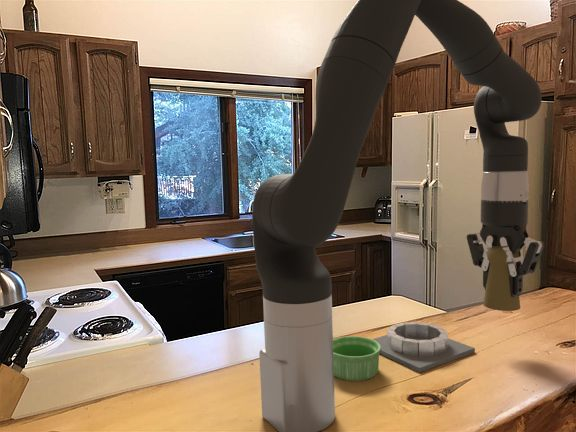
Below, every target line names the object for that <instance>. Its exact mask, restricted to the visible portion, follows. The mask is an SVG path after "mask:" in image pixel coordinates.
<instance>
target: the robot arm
mask: <svg viewBox="0 0 576 432" xmlns="http://www.w3.org/2000/svg"><path fill="white" fill-rule="evenodd" d="M415 16H416V18H417V19H419V20H420V21H421V23H422V24H423V25H424V26H425V27H426V28H427V29H428V30H429V31H430V32H431V33H432V35H433V36H434V37H435V38H436V39H437V41H438V42H439V43H440V45H441V46H442V48H443V49H444V51H446V53H447V54H448V56H449V58H450V60H451V61H452V62H453V64H454V65H455V67H456V69H457V70H458V72H459V73H460V74H461V76H462V77H463V79H464V80H465V81H466V82H467V83H468V84H469V85H472V86H479V87H481V86H482V87H481V88H480V89H479V90H478V91H477V93H476V95H475V98H474V100H473V114H474V119H475V122H476V123H475V124H476V126H477V129H478V130H477V131H478V133H479V139H480V141H481V144H482V150H483V155H482V156H483V157H482V178H481V184H480V223H481V224H482V225H481V226H482V227H481V229H480V231H479V232H476V233H475V232H473V233H469V234H467V235H466V241H467V245H468V248H469V253H470V256H471V260H472V264H473V265H474V266H476V267H479V268H481V270H482V286H483V289H484V292H485V291H486V285H487V279H488V272H489V266H490V262H489V260H488V258H487V252H488V250H489V248H491V247H493V246H501V247H502V248H503V249H504V250H505V252H506V254H507V255H508V257H507V261H506V262H507V263H508V267H509V271H510V275H511V276H509V284H510V293H511V297H513V298H514V297H515V295H517V297H518V296H519V297H520V295H521V294H522V293H523V281H524V280H523V279H524V278H523V277H524V276H525V275H529V274H534V273H535V272H536V270H537V267H538V264H539V261H540V258H541V256H542V253H543V251H544V248H545V244H546V243H545V242H544V241H543V240H536V239H534V238H531V237H529V233H528V231H527V226H528V223H529V222H528V221H529V195H530V191H529V190H530V185H529V184H530V183H529V175H528V173H529V172H528V168H529V167H528V166H529V144H528V141H527V140H526V138H524V137H522V136H519V135H518V136H517V135H511V134H509V131H508V130H507V126H506V123H512V122H521V121H526V120H529V119H531V118H533V117H534V116H535V115H536V114H537V113H538V112H539V110H540V109H541V106H542V90H541V88H540V86H539V84H538V81H537V80H536V79H535V78H534V77H533V76H532V75H531V73H529V72H528V71H527V70H526V69H525V68H524V67H522V66H521V65H520V64H519V63H518V62H517V61H516V60H514V58H512V57H511V56H510V55H509V54H508V53H506V51H504V49H503V46H502V45H501V44H500V42H499V40H498V38H497V36H496V34H495V33H494V32H493V30H492V29H491V27H490V25H489V24H488V23H487V21H486V20H485V19H484V18H483V16H482V15H480V14H479V13H477V12H476V11H475V10H473V9H472V8H470V7H469V6H468V5H466V4H464V3H463V2H462V1H459V0H357V1H356V2H355V4H354V5H353V6H352V8H351V9H349V12H348V13H347V14H346V16H345V17H344V19H343V20H342V22H341V23H340V24H339V26H338V28H337V30H336V31H335V33H334V35H333V37H332V39H331V41H330V43H329V46H328V48H327V50H326V53H325V55H324V58H323V60H322V62H321V65H320V67H319V70H318V73H317V78H316V82H315V97H314V99H315V121H314V127H313V131H312V134H311V137H310V140H309V142H308V143H307V144H308V145H307V146H306V149H305V151H304V153H303V156H302V157H301V159H300V162H299V164H298V165H297V168H296V169H295V171H294V173H280V174H276V175H273V176H271V177H268V178H267V179H265V180H264V181H263V182H262V183H261V184H260V186H259V187H258V188H257V190H256V192H255V195H254V198H253V202H252V210H251V211H252V212H251V215H252V216H251V220H252V233H253V245H254V246H253V247H254V258H255V267H256V271H257V274H258V277H259V279H260V284H261V287H262V303H263V305H262V306H263V309H262V310H263V327H264V328H263V329H264V330H263V332H264V348H263V349H260V350H259V374H260V375H259V376H260V377H259V378H260V397H261V398H260V399H261V416H262V418H263V419H265V420H266V421H267V422H268V423H269V424H270V425H271V426H272V427H273V428H274V429H275V430H276V431H278V432H320V431H323V430H325V429H326V428H328V427H329V426H331V425H332V424H333V422H334V420H335V418H336V407H335V406H336V405H335V403H336V401H335V399H336V397H335V376H334V361H333V339H334V335H333V332H334V331H333V298H332V297H333V295H332V293H333V290H332V287H333V286H332V284H333V283H332V276H331V274H330V272H329V270H328V269H327V268H326V266H324V265H323V263H322V261H321V259H320V258H319V256H318V254H317V252H316V247H319V246H320V245H323V244H324V243H325V242H326V241H328V239H330V238H331V236H333V234H334V232H336V229H337V228H338V226H339V225H340V221H341V218H342V217H343V213H344V209H345V206H346V204H347V199H348V195H349V192H350V189H351V184H352V181H353V177H354V174H355V171H356V168H357V165H358V161H359V157H360V154H361V151H362V149H363V146H364V143H365V141H366V138H367V136H368V135H369V134H368V133H369V131H370V128H371V126H372V122H373V120H374V117H375V114H376V113H377V109H378V107H379V105H380V102H381V99H382V98H383V96H384V94H385V92H386V88H387V87H388V84H389V81H390V79H391V76H392V73H393V71H394V69H395V66H396V64H397V61H398V58H399V55H400V52H401V49H402V47H403V45H404V42H405V39H406V37H407V35H408V33H409V31H410V28H411V26H412V23H413V21H414V18H415ZM483 243H484V244H483ZM484 245H485V247H484ZM524 246H525V248H524V251H526V253H525V255H523V254H524V253H523V250H522V249H523V247H524ZM506 250H507V251H506ZM518 252H519V257H516V258H514V257H513V256H512V253H513V254H515V253H518ZM516 262H517V263H516Z"/></svg>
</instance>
